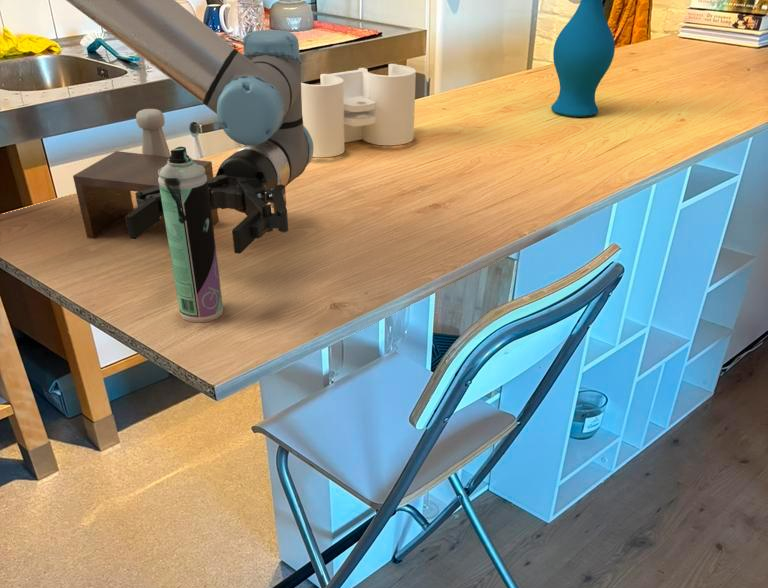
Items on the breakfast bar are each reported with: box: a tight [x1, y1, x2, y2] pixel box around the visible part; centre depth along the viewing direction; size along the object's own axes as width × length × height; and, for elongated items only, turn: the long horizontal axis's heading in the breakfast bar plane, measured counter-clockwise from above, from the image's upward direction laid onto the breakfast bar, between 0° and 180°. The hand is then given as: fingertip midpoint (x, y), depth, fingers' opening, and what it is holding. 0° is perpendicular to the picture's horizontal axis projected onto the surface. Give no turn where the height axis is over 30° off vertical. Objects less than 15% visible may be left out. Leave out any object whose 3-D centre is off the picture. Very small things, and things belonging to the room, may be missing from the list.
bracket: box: [301, 63, 417, 158], centre depth 154 cm, size 25×10×12 cm, turn 124°
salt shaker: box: [135, 108, 171, 157], centre depth 132 cm, size 6×6×13 cm
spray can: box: [158, 146, 224, 323], centre depth 97 cm, size 6×6×20 cm
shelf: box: [72, 150, 219, 239], centre depth 121 cm, size 16×12×9 cm
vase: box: [550, 0, 616, 118], centre depth 169 cm, size 12×13×28 cm
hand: (182, 235), depth 95 cm, fingers open, 13 cm apart
